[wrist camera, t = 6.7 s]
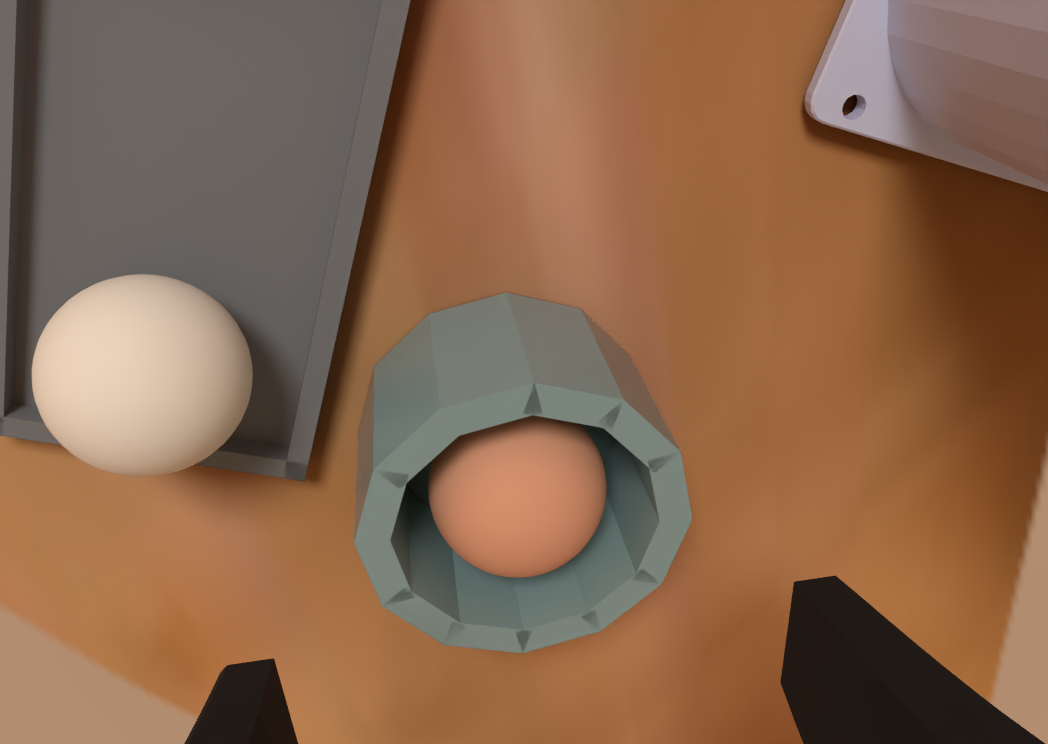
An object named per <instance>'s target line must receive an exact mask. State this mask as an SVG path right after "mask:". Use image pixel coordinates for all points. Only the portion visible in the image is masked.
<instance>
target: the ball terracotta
mask: <svg viewBox="0 0 1048 744" xmlns="http://www.w3.org/2000/svg"><path fill="white" fill-rule="evenodd" d="M606 491H607V484H606V474H605V468H604V465H603V461H602V458H601V455H600V452H599V450H598V448H597V446H596V444H595V442H594V441H593V439H592V438H591V436H590V435H589V433H588V432H587V431H586V430H585V428H584V427H583V426H582V425H581V424H579V423H573V422H568V421H562V420H557V419H551V418H546V417H540V416H535V415H532V416H528V417H524V418H521V419H517V420H514V421H510V422H507V423H503V424H499V425H496V426H492V427H489V428H485V429H481V430H478V431H474V432H471V433H467V434H463V435H460V436H458V437H457V438H456V439H455V440H454V441H453V442H452V443H451V444H449V445H448V446H447V447H446V448H445V449H444V450H443V451H442V452H440V453H439V454H438V455H437V456H436V457H435V458H434V459H433V460H432V464H431V469H430V473H429V482H428V494H429V503H430V507H431V511H432V515H433V518H434V521H435V523H436V525H437V527H438V529H439V531H440V533H441V535H442V536H443V538H444V539H445V541H446V542H447V543H448V545H449V546H450V547H451V548H452V549H453V550H454V552H455V553H457V554H458V555H459V556H460V557H461V558H463V559H464V560H465V561H466V562H468V563H469V564H471V565H473V566H474V567H476V568H478V569H481V570H483V571H485V572H488V573H491V574H494V575H498V576H503V577H515V578H521V577H532V576H537V575H541V574H544V573H547V572H550V571H552V570H554V569H557V568H558V567H560V566H562V565H564V564H565V563H567V562H568V561H569V560H571V559H572V558H574V557H575V556H576V555H577V554H578V553H579V552H580V551H581V550H582V549H583V548H584V547H585V546H586V545H587V543H588V542H589V540H590V539H591V537H592V536H593V534H594V533H595V531H596V529H597V527H598V525H599V523H600V520H601V517H602V514H603V511H604V507H605V502H606Z"/></svg>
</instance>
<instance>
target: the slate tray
mask: <svg viewBox="0 0 1048 744" xmlns="http://www.w3.org/2000/svg"><path fill="white" fill-rule="evenodd" d="M409 5H410V0H0V436H5V437H12V438H19V439H25V440H32V441H39V442H45V443H52V444H59V445H61V444H60V443H59V441H58V440H57V439H56V438H55V437H54V436H53V435H52V433H51V432H50V431H49V429H48V428H47V427H46V425H45V423H44V421H43V419H42V418H41V415H40V413H39V410H38V407H37V405H36V402H35V399H34V394H33V389H32V364H33V357H34V353H35V350H36V346H37V343H38V340H39V338H40V336H41V334H42V332H43V330H44V329H45V327H46V325H47V323H48V322H49V321H50V319H51V318H52V317H53V315H54V314H55V313H56V312H57V311H58V310H59V309H60V308H61V307H62V306H63V305H64V304H65V303H66V302H67V301H68V300H69V299H70V298H72V297H73V296H75V295H76V294H78V293H79V292H81V291H82V290H84V289H86V288H88V287H90V286H92V285H94V284H96V283H99V282H101V281H104V280H107V279H111V278H116V277H121V276H125V275H135V274H150V275H159V276H166V277H169V278H173V279H177V280H180V281H183V282H185V283H188V284H191V285H193V286H194V287H196V288H198V289H200V290H202V291H204V292H205V293H207V294H208V295H210V296H211V297H213V298H214V299H215V300H216V301H218V302H219V303H220V304H221V305H222V306H223V307H224V308H225V309H226V310H227V311H228V312H229V313H230V314H231V316H232V317H233V319H234V320H235V321H236V323H237V324H238V326H239V328H240V330H241V332H242V333H243V335H244V337H245V340H246V342H247V345H248V348H249V352H250V356H251V361H252V371H253V379H252V389H251V395H250V399H249V403H248V406H247V408H246V411H245V413H244V415H243V418H242V420H241V422H240V423H239V425H238V426H237V428H236V429H235V431H234V432H233V434H232V435H231V436H230V437H229V438H228V440H227V441H226V442H225V443H224V444H223V445H222V446H221V447H219V448H218V449H217V450H216V451H215V452H213V453H212V454H211V455H210V456H208V457H207V458H205V459H204V460H202V461H200V462H198V463H196V464H194V465H199V466H206V467H213V468H219V469H226V470H233V471H239V472H246V473H253V474H260V475H266V476H273V477H280V478H286V479H293V480H300V481H305V477H306V472H307V468H308V463H309V458H310V454H311V449H312V445H313V440H314V436H315V431H316V427H317V422H318V418H319V413H320V409H321V404H322V400H323V395H324V390H325V386H326V381H327V377H328V372H329V368H330V363H331V359H332V354H333V350H334V345H335V341H336V336H337V331H338V327H339V322H340V318H341V313H342V309H343V304H344V300H345V295H346V291H347V286H348V282H349V277H350V273H351V268H352V263H353V259H354V254H355V250H356V245H357V241H358V236H359V232H360V227H361V223H362V218H363V214H364V209H365V204H366V200H367V195H368V191H369V186H370V182H371V177H372V173H373V168H374V164H375V159H376V155H377V150H378V146H379V141H380V136H381V132H382V127H383V123H384V118H385V114H386V109H387V105H388V100H389V96H390V91H391V87H392V82H393V78H394V73H395V68H396V64H397V59H398V55H399V50H400V46H401V41H402V37H403V32H404V28H405V23H406V19H407V14H408V9H409Z"/></svg>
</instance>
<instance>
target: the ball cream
mask: <svg viewBox="0 0 1048 744" xmlns="http://www.w3.org/2000/svg"><path fill="white" fill-rule="evenodd" d="M252 379H253V371H252V361H251V356H250V352H249V348H248V345H247V342H246V340H245V337H244V335H243V333H242V332H241V330H240V328H239V326H238V324H237V323H236V321H235V320H234V319H233V317H232V316H231V314H230V313H229V312H228V311H227V310H226V309H225V308H224V307H223V306H222V305H221V304H220V303H219V302H218V301H216V300H215V299H214V298H213V297H211V296H210V295H208V294H207V293H205V292H204V291H202V290H200V289H198V288H196V287H194V286H193V285H191V284H188V283H185V282H183V281H180V280H177V279H173V278H169V277H166V276H159V275H150V274H135V275H125V276H121V277H116V278H111V279H107V280H104V281H101V282H99V283H96V284H94V285H92V286H90V287H88V288H86V289H84V290H82V291H81V292H79V293H78V294H76V295H75V296H73V297H72V298H70V299H69V300H68V301H67V302H66V303H65V304H64V305H63V306H62V307H61V308H60V309H59V310H58V311H57V312H56V313H55V314H54V315H53V317H52V318H51V319H50V321H49V322H48V323H47V325H46V327H45V329H44V330H43V332H42V334H41V336H40V338H39V340H38V343H37V346H36V350H35V353H34V357H33V364H32V389H33V394H34V399H35V402H36V405H37V407H38V410H39V413H40V415H41V418H42V419H43V421H44V423H45V425H46V427H47V428H48V429H49V431H50V432H51V433H52V435H53V436H54V437H55V438H56V439H57V440H58V441H59V443H60V444H61V445H62V446H63V447H64V448H66V449H67V450H68V451H69V452H70V453H71V454H73V455H74V456H76V457H77V458H79V459H80V460H82V461H84V462H85V463H87V464H89V465H91V466H93V467H96V468H98V469H101V470H104V471H107V472H110V473H114V474H119V475H124V476H134V477H149V476H158V475H165V474H169V473H174V472H177V471H180V470H183V469H186V468H188V467H190V466H192V465H194V464H196V463H198V462H200V461H202V460H204V459H205V458H207V457H208V456H210V455H211V454H212V453H213V452H215V451H216V450H217V449H218V448H219V447H221V446H222V445H223V444H224V443H225V442H226V441H227V440H228V438H229V437H230V436H231V435H232V434H233V432H234V431H235V429H236V428H237V426H238V425H239V423H240V422H241V420H242V418H243V415H244V413H245V411H246V408H247V406H248V403H249V399H250V395H251V389H252Z"/></svg>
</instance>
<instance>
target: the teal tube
mask: <svg viewBox="0 0 1048 744" xmlns="http://www.w3.org/2000/svg"><path fill="white" fill-rule="evenodd" d="M532 415H535V416H540V417H546V418H551V419H557V420H562V421H568V422H573V423H579V424H581V425H582V426H583V427H584V428H585V430H586V431H587V432H588V433H589V435H590V436H591V438H592V439H593V441H594V442H595V444H596V446H597V448H598V450H599V452H600V455H601V458H602V461H603V465H604V468H605V474H606V484H607V491H606V502H605V507H604V511H603V514H602V517H601V520H600V523H599V525H598V527H597V529H596V531H595V533H594V534H593V536H592V537H591V539H590V540H589V542H588V543H587V545H586V546H585V547H584V548H583V549H582V550H581V551H580V552H579V553H578V554H577V555H576V556H575V557H574V558H572V559H571V560H569V561H568V562H567V563H565V564H564V565H562V566H560V567H558V568H557V569H554V570H552V571H550V572H547V573H544V574H541V575H537V576H532V577H521V578H515V577H503V576H498V575H494V574H491V573H488V572H485V571H483V570H481V569H478V568H476V567H474V566H473V565H471V564H469V563H468V562H466V561H465V560H464V559H463V558H461V557H460V556H459V555H458V554H457V553H455V552H454V550H453V549H452V548H451V547H450V546H449V545H448V543H447V542H446V541H445V539H444V538H443V536H442V535H441V533H440V531H439V529H438V527H437V525H436V523H435V521H434V518H433V515H432V511H431V507H430V503H429V494H428V482H429V473H430V469H431V464H432V460H433V459H434V458H435V457H436V456H437V455H438V454H439V453H440V452H442V451H443V450H444V449H445V448H446V447H447V446H448V445H449V444H451V443H452V442H453V441H454V440H455V439H456V438H457V437H458V436H460V435H463V434H467V433H471V432H474V431H478V430H481V429H485V428H489V427H492V426H496V425H499V424H503V423H507V422H510V421H514V420H517V419H521V418H524V417H528V416H532ZM691 521H692V515H691V509H690V503H689V497H688V491H687V485H686V480H685V474H684V468H683V462H682V456H681V451H680V449H679V447H678V445H677V444H676V442H675V440H674V438H673V436H672V434H671V432H670V430H669V429H668V427H667V425H666V423H665V421H664V419H663V417H662V415H661V414H660V412H659V410H658V408H657V406H656V404H655V402H654V400H653V399H652V397H651V395H650V393H649V391H648V389H647V387H646V385H645V384H644V382H643V380H642V378H641V376H640V374H639V372H638V370H637V369H636V367H635V365H634V363H633V361H632V359H631V357H630V355H628V354H627V353H626V352H625V351H624V350H623V349H622V348H621V347H620V346H619V345H618V344H617V343H616V342H615V341H614V340H613V339H612V338H611V337H610V336H609V335H608V334H606V333H605V332H604V331H603V330H602V329H601V328H600V327H599V326H598V325H597V324H596V323H595V322H594V321H593V320H592V319H591V318H590V317H589V316H588V315H587V314H586V313H585V312H583V311H582V310H581V309H579V308H575V307H570V306H566V305H561V304H556V303H552V302H547V301H543V300H538V299H534V298H529V297H524V296H520V295H515V294H511V293H502V294H499V295H495V296H492V297H488V298H484V299H481V300H477V301H474V302H470V303H466V304H463V305H459V306H455V307H452V308H448V309H445V310H441V311H437V312H434V313H430V314H428V315H427V316H426V317H425V318H424V319H423V320H422V321H421V322H420V323H419V324H418V325H417V326H416V327H415V328H414V329H413V330H411V331H410V332H409V333H408V334H407V335H406V336H405V337H404V338H403V339H402V340H401V341H400V342H399V343H398V344H397V345H396V346H395V347H394V348H393V349H392V350H391V351H390V352H388V353H387V354H386V355H385V356H384V357H383V358H382V359H381V360H380V361H379V362H378V363H377V364H376V365H375V366H374V370H373V374H372V378H371V382H370V386H369V390H368V394H367V398H366V402H365V406H364V410H363V414H362V418H361V422H360V426H359V430H358V452H357V478H356V504H355V531H354V544H355V546H356V548H357V551H358V553H359V555H360V557H361V560H362V562H363V564H364V566H365V569H366V571H367V573H368V575H369V578H370V580H371V582H372V585H373V587H374V589H375V591H376V594H377V596H378V598H379V600H380V603H381V605H382V607H384V608H386V609H387V610H389V611H390V612H392V613H394V614H395V615H397V616H398V617H400V618H402V619H403V620H405V621H406V622H408V623H410V624H411V625H413V626H414V627H416V628H418V629H419V630H421V631H422V632H424V633H426V634H427V635H429V636H431V637H432V638H434V639H435V640H437V641H439V642H440V643H442V644H443V645H448V646H458V647H468V648H477V649H487V650H496V651H506V652H515V653H526V652H529V651H533V650H536V649H540V648H543V647H547V646H550V645H554V644H557V643H561V642H565V641H568V640H572V639H575V638H579V637H582V636H586V635H589V634H593V633H597V632H600V631H602V630H603V629H604V628H605V627H607V626H608V625H609V624H611V623H612V622H613V621H615V620H616V619H617V618H618V617H620V616H621V615H622V614H624V613H625V612H626V611H627V610H629V609H630V608H631V607H633V606H634V605H635V604H636V603H638V602H639V601H640V600H642V599H643V598H644V597H646V596H647V595H648V594H649V593H651V592H652V591H653V590H655V589H656V588H657V587H658V586H660V585H661V584H662V582H663V580H664V578H665V576H666V574H667V572H668V570H669V568H670V565H671V563H672V561H673V559H674V557H675V555H676V553H677V551H678V549H679V546H680V544H681V542H682V540H683V538H684V536H685V534H686V532H687V530H688V527H689V525H690V523H691Z"/></svg>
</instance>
